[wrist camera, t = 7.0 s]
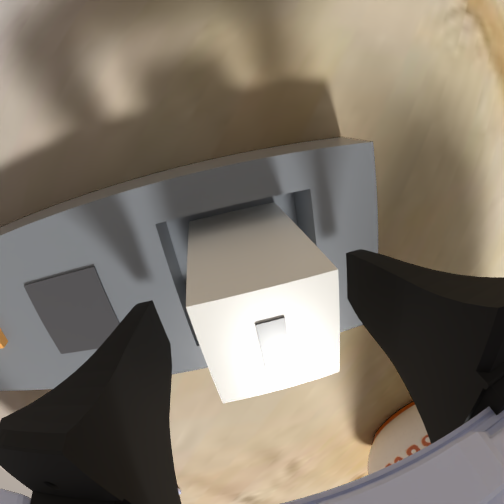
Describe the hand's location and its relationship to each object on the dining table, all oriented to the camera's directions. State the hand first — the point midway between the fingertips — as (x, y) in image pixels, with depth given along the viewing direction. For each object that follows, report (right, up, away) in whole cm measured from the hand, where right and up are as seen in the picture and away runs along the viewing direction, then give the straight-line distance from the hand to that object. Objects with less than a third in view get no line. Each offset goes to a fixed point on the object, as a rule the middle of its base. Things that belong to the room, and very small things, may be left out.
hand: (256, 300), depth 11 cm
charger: (-1, +2, +4) cm, 4 cm away
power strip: (-9, 0, +4) cm, 10 cm away
